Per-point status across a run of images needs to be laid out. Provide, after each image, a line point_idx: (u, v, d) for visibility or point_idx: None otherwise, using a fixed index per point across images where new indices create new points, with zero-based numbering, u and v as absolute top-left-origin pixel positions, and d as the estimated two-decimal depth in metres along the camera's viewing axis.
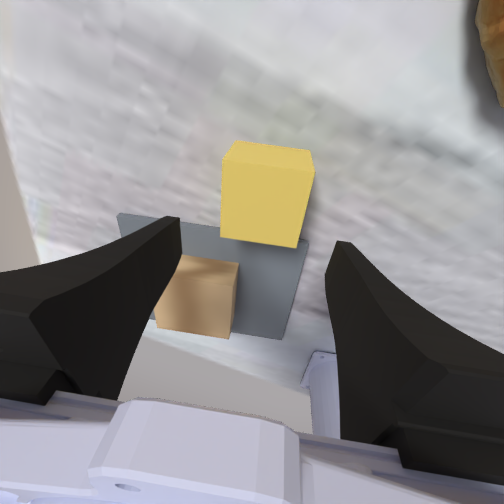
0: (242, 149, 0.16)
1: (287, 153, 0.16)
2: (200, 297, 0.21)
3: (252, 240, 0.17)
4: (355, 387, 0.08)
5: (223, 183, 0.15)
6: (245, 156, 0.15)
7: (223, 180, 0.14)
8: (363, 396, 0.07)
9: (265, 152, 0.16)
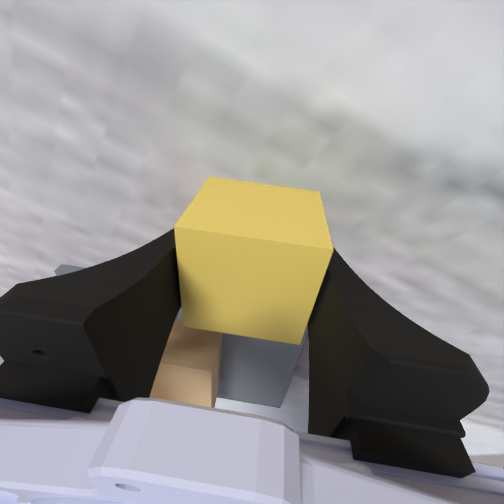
0: (214, 197, 0.10)
1: (286, 202, 0.10)
2: (168, 380, 0.16)
3: (232, 332, 0.11)
4: (321, 381, 0.08)
5: (180, 260, 0.09)
6: (216, 214, 0.09)
7: (179, 256, 0.09)
8: (326, 389, 0.07)
9: (251, 202, 0.10)
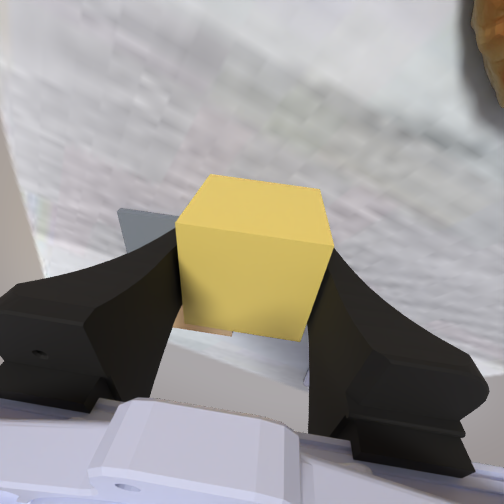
0: (215, 194, 0.10)
1: (286, 199, 0.10)
2: None
3: (233, 329, 0.11)
4: (321, 381, 0.08)
5: (181, 256, 0.09)
6: (217, 211, 0.09)
7: (180, 252, 0.09)
8: (326, 390, 0.07)
9: (251, 199, 0.10)
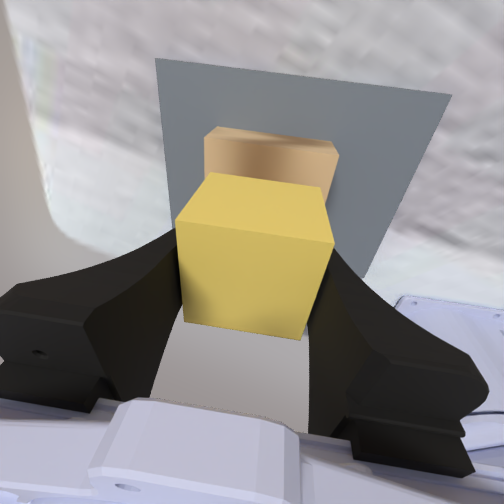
0: (215, 192, 0.10)
1: (287, 197, 0.10)
2: None
3: (233, 328, 0.11)
4: (321, 381, 0.08)
5: (180, 254, 0.09)
6: (217, 208, 0.09)
7: (180, 250, 0.09)
8: (326, 389, 0.07)
9: (252, 197, 0.10)
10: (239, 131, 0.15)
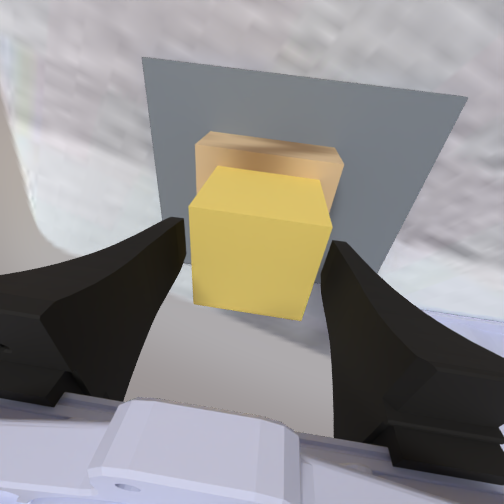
0: (223, 183, 0.11)
1: (288, 188, 0.11)
2: None
3: (239, 309, 0.12)
4: (348, 386, 0.08)
5: (192, 238, 0.10)
6: (226, 197, 0.10)
7: (192, 234, 0.10)
8: (355, 395, 0.07)
9: (257, 188, 0.11)
10: (234, 136, 0.14)
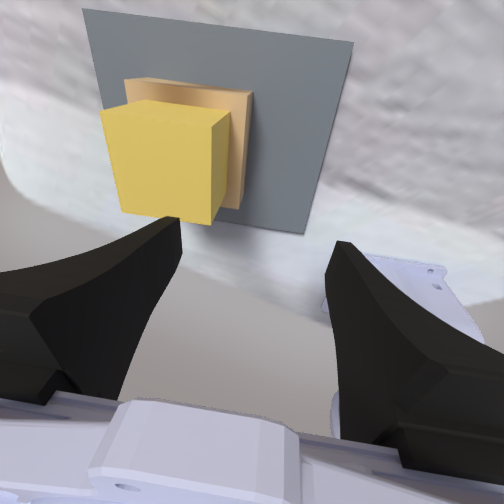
0: (140, 106, 0.13)
1: (196, 112, 0.13)
2: None
3: (159, 216, 0.14)
4: (355, 387, 0.08)
5: (108, 143, 0.12)
6: (136, 110, 0.12)
7: (107, 139, 0.12)
8: (363, 395, 0.07)
9: (168, 109, 0.13)
10: (165, 80, 0.16)
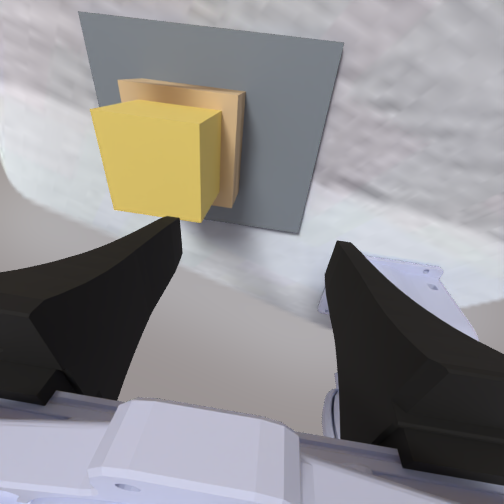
0: (132, 105, 0.13)
1: (187, 111, 0.14)
2: None
3: (150, 213, 0.14)
4: (355, 387, 0.08)
5: (99, 141, 0.12)
6: (126, 109, 0.12)
7: (98, 137, 0.12)
8: (363, 396, 0.07)
9: (159, 108, 0.13)
10: (159, 81, 0.16)
